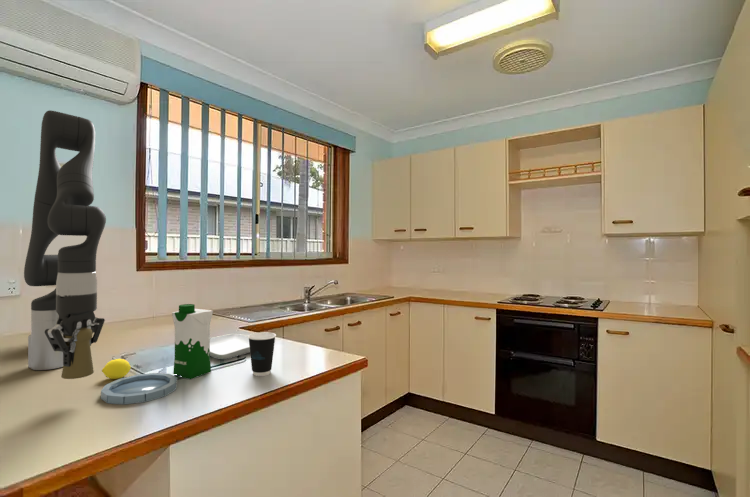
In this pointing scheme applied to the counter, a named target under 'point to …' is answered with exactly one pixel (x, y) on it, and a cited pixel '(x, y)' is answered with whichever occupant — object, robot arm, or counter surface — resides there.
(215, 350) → the salad plate
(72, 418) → the counter surface
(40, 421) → the counter surface
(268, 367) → the dixie cup
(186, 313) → the milk carton
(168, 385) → the round dish
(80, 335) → the tan pawn shape
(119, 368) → the lemon
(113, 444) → the counter surface
